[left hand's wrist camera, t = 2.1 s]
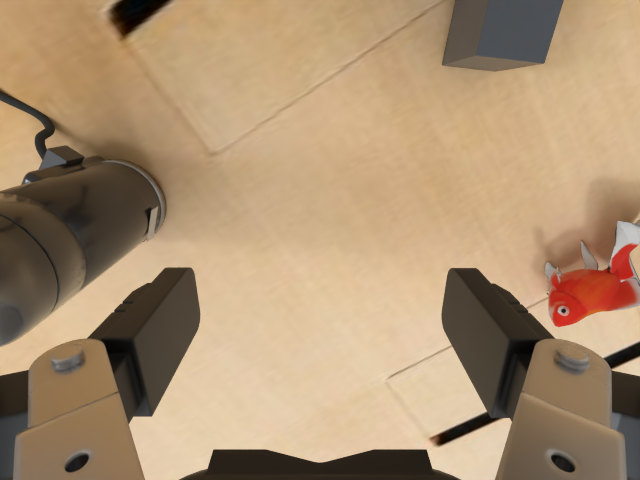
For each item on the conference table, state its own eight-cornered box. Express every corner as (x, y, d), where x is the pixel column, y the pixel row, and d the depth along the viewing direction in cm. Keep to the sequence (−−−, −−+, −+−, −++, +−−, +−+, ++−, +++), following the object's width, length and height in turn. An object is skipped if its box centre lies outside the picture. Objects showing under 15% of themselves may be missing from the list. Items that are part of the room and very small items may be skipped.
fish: (512, 254, 36) (627, 308, 29) (604, 171, 40) (728, 200, 32) (514, 314, 43) (607, 370, 35) (592, 239, 46) (692, 275, 39)
